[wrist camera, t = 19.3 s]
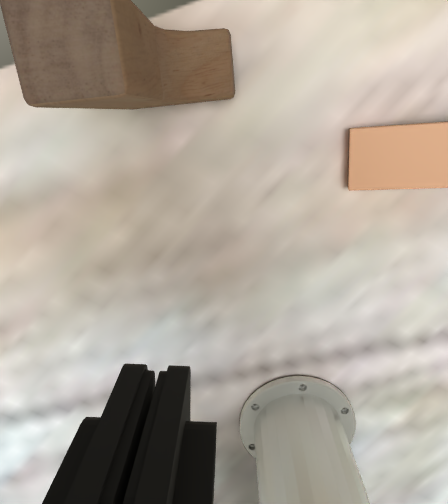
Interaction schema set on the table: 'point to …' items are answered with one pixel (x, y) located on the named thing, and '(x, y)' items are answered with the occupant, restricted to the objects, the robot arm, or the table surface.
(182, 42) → the wooden block
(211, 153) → the table surface
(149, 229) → the table surface
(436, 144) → the domino
